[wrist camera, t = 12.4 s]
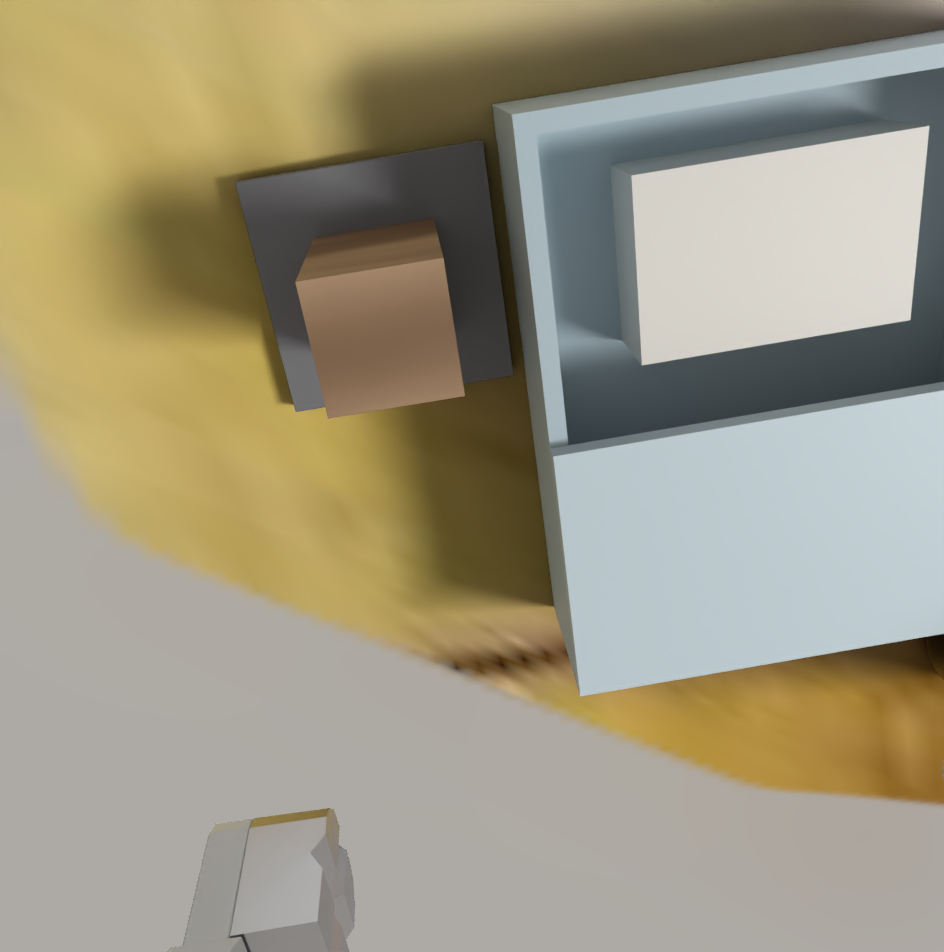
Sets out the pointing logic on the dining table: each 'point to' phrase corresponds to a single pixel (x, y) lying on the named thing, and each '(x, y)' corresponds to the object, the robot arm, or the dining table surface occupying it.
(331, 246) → the walnut block
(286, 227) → the pad
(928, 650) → the supplement bottle
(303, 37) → the dining table surface
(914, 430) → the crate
